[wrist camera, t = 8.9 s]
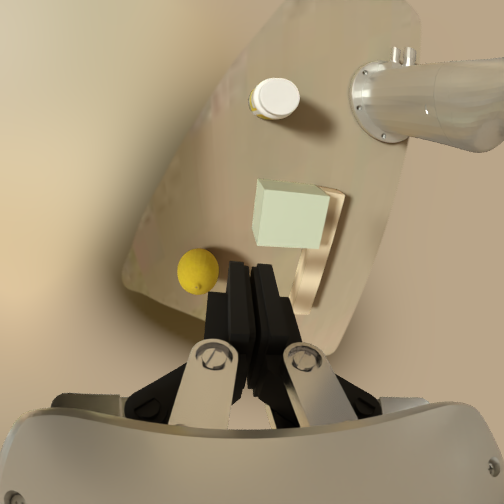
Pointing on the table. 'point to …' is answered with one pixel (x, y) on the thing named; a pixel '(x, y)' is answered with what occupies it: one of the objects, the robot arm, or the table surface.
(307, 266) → the beige wavy bar
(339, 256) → the table surface
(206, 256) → the lemon
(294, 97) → the supplement bottle
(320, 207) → the block
